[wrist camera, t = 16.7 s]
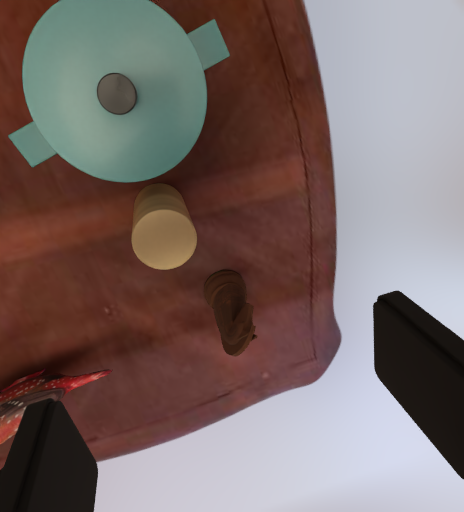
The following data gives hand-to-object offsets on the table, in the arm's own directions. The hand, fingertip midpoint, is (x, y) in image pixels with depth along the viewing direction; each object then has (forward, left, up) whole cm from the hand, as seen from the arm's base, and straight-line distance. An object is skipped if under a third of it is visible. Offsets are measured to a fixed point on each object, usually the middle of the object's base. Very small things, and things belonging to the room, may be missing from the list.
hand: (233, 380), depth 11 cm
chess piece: (+13, +2, -27) cm, 30 cm away
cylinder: (+2, -2, -27) cm, 27 cm away
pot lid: (-8, -2, -19) cm, 21 cm away
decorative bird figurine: (+16, -19, -27) cm, 36 cm away
